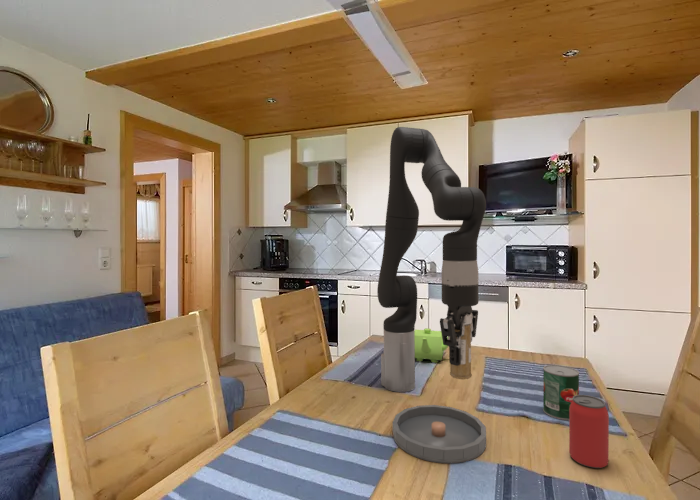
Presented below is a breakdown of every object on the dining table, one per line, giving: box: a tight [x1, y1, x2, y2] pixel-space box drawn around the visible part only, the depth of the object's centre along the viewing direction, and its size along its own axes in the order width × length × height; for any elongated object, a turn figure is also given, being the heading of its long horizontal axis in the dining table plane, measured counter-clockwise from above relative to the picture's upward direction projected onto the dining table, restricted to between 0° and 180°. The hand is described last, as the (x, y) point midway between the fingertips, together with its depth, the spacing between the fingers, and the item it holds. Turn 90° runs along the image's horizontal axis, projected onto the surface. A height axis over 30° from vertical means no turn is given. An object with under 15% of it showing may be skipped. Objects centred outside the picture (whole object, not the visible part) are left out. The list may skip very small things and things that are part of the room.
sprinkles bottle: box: [449, 314, 473, 380], centre depth 81 cm, size 5×5×13 cm
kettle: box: [414, 328, 449, 364], centre depth 140 cm, size 15×14×11 cm
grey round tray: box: [392, 404, 487, 464], centre depth 85 cm, size 20×20×3 cm
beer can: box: [568, 394, 610, 469], centre depth 76 cm, size 7×7×12 cm
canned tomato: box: [542, 364, 580, 421], centre depth 96 cm, size 8×8×11 cm
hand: (460, 361), depth 81 cm, fingers closed on sprinkles bottle, 4 cm apart
